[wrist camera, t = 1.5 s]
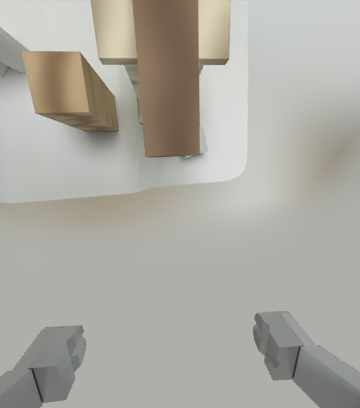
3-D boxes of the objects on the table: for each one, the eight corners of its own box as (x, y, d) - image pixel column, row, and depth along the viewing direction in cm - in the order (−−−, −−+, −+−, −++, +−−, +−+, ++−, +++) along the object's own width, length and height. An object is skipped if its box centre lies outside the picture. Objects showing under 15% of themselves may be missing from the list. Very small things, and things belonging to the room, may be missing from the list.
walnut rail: (149, 157, 16) (145, 156, 13) (124, -157, 11) (103, -322, 7) (191, 155, 17) (199, 154, 13) (184, -151, 12) (195, -305, 8)
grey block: (183, 158, 42) (186, 157, 37) (177, 137, 41) (179, 134, 36) (203, 151, 42) (208, 150, 37) (197, 130, 41) (202, 126, 36)
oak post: (86, 131, 39) (35, 113, 23) (80, 96, 37) (21, 51, 21) (118, 130, 39) (89, 112, 24) (114, 96, 37) (79, 51, 22)
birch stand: (140, 123, 39) (98, 58, 14) (135, 72, 37) (74, -118, 12) (188, 122, 40) (229, 58, 15) (186, 72, 37) (233, -105, 12)
